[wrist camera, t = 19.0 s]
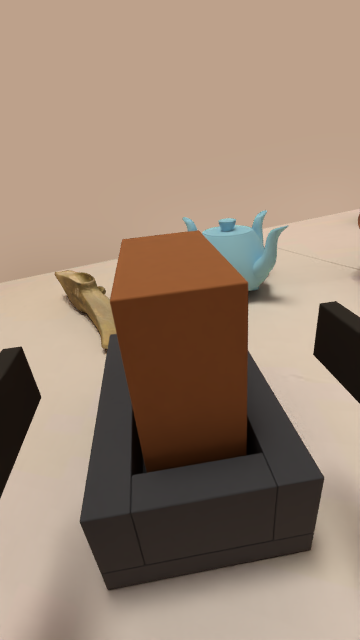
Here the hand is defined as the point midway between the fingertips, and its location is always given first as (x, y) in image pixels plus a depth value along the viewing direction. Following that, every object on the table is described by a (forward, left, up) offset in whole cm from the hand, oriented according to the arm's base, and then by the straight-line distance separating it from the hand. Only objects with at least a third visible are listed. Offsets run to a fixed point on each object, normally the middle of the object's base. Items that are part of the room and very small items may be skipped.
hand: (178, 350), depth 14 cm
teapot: (+30, +10, -10) cm, 33 cm away
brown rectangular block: (+3, +2, -9) cm, 9 cm away
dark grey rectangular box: (+3, +2, -10) cm, 11 cm away
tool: (+16, +24, -10) cm, 30 cm away
